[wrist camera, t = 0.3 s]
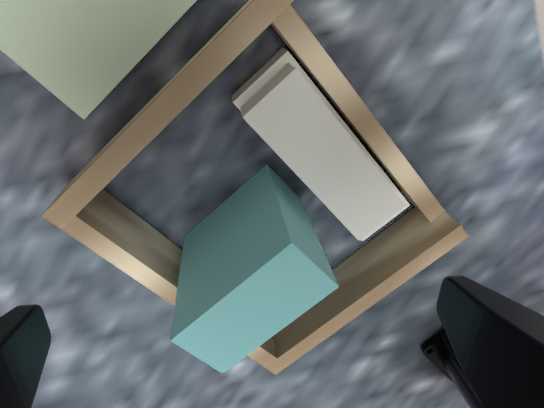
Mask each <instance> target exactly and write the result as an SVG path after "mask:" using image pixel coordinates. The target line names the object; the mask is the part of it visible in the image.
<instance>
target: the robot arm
mask: <svg viewBox="0 0 544 408" xmlns="http://www.w3.org/2000/svg"><path fill="white" fill-rule="evenodd" d="M437 312H438V315H439V318H440V320H441V322H442V324H443V327H444V329H445V330H444V331H443V332H441V333H440V334H438V335H437V336H435V337H434V338H432V339H431V340H429V341H428V342H426V343H425V344H423V345H422V347H421V350H422V352H423V353H424V355H425V356H426V357H427V358H428V359H429V360H430V361H431V362H433V363H434V364H435V365H436V366H437V367H438V368H439V369H440V370H441V371H442V372H443V373H444V374H445V375H446V376H447V377H448V378H449V379H450V380H451V381H452V382H454V383H455V385H456V386H457V388H458V389H459V391H460V392H461V394H462V396H463V397H464V399H465V400H466V402H467V403H468V405H469V407H470V408H544V316H543V315H541V314H539V313H537V312H535V311H533V310H531V309H529V308H527V307H525V306H523V305H521V304H519V303H517V302H515V301H513V300H511V299H509V298H507V297H505V296H503V295H501V294H499V293H497V292H495V291H493V290H491V289H489V288H487V287H485V286H483V285H481V284H479V283H477V282H475V281H473V280H471V279H469V278H467V277H464V276H448V277H445V278H444V279H443V281H442V285H441V289H440V293H439V296H438V300H437ZM50 343H51V333H50V330H49V327H48V324H47V321H46V318H45V315H44V312H43V309H42V308H41V306H39V305H36V304H35V305H21V306H17V307H15V308H14V309H12V310H11V311H9V312H8V313H6V314H4V315H3V316H1V317H0V408H31V407H32V404H33V401H34V397H35V394H36V391H37V387H38V384H39V380H40V377H41V374H42V370H43V367H44V364H45V360H46V357H47V354H48V350H49V347H50Z"/></svg>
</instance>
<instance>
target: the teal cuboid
mask: <svg viewBox="0 0 544 408" xmlns="http://www.w3.org/2000/svg"><path fill="white" fill-rule="evenodd" d="M338 287H339V285H338V283H337V281H336V278H335V276H334V274H333V272H332V269H331V267H330V265H329V262H328V260H327V258H326V256H325V253H324V251H323V249H322V247H321V244H320V242H319V240H318V237H317V235H316V233H315V231H314V228H313V226H312V224H311V222H310V219H309V217H308V215H307V212H306V210H305V208H304V206H303V203H302V201H301V199H300V198H299V197H298V196H297V195H296V194H295V193H294V192H293V191H292V190H291V188H290V187H289V186H288V185H287V184H286V183H285V182H284V181H283V180H282V179H281V178H280V177H279V176H278V175H277V174H276V173H275V172H274V171H273V170H272V169H271V168H270V167H269V166H268V165H267V164H266V165H265V166H264V167H263V168H261V169H260V170H259V171H258V172H257V173H256V174H255V175H253V176H252V177H251V178H250V179H249V180H248V181H247V182H245V183H244V184H243V185H242V186H241V187H240V188H239V189H238V190H236V191H235V192H234V193H233V194H232V195H231V196H230V197H228V198H227V199H226V200H225V201H224V202H223V203H222V204H220V205H219V206H218V207H217V208H216V209H215V210H214V211H213V212H211V213H210V214H209V215H208V216H207V217H206V218H205V219H203V220H202V221H201V222H200V223H199V224H198V225H197V226H195V227H194V228H193V229H192V230H191V231H190V232H189V233H188V234H186V235H185V236H184V242H183V250H182V257H181V264H180V272H179V279H178V287H177V294H176V301H175V309H174V316H173V323H172V331H171V338H170V341H171V342H173V343H174V344H176V345H178V346H179V347H181V348H182V349H184V350H186V351H187V352H189V353H190V354H192V355H194V356H195V357H197V358H198V359H200V360H202V361H203V362H205V363H206V364H208V365H210V366H211V367H213V368H214V369H216V370H218V371H219V372H221V373H222V374H223V373H224V372H226V371H227V370H228V369H230V368H231V367H232V366H234V365H235V364H236V363H238V362H239V361H240V360H242V359H243V358H244V357H246V356H247V355H248V354H250V353H251V352H252V351H254V350H255V349H256V348H258V347H259V346H261V345H262V344H263V343H265V342H266V341H267V340H269V339H270V338H271V337H273V336H274V335H275V334H277V333H278V332H279V331H281V330H282V329H283V328H285V327H286V326H287V325H289V324H290V323H291V322H293V321H294V320H295V319H297V318H298V317H299V316H301V315H302V314H303V313H305V312H306V311H307V310H309V309H310V308H311V307H313V306H314V305H315V304H317V303H318V302H319V301H321V300H322V299H323V298H325V297H326V296H327V295H329V294H330V293H332V292H333V291H334V290H336V289H337V288H338Z"/></svg>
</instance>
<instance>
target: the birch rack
mask: <svg viewBox="0 0 544 408" xmlns="http://www.w3.org/2000/svg"><path fill="white" fill-rule="evenodd" d="M293 1H294V0H248V1H247V2H246V3H245V4H244V5H243V6H242V7H241V8H240V9H239V10H238V11H237V12H236V13H235V14H234V15H233V16H232V17H231V18H230V19H229V21H228V22H227V23H226V24H225V25H224V26H223V27H222V28H221V29H220V30H219V31H218V32H217V33H216V34H215V35H214V36H213V37H212V38H211V39H210V40H209V41H208V42H207V43H206V44H205V45H204V46H203V47H202V48H201V49H200V50H199V51H198V52H197V53H196V54H195V55H194V56H193V57H192V58H191V59H190V60H189V61H188V62H187V63H186V64H185V65H184V66H183V67H182V68H181V69H180V70H179V71H178V72H177V73H176V74H175V75H174V77H173V78H172V79H171V80H170V81H169V82H168V83H167V84H166V85H165V86H164V87H163V88H162V89H161V90H160V91H159V92H158V93H157V94H156V95H155V96H154V97H153V98H152V99H151V100H150V101H149V102H148V103H147V104H146V105H145V106H144V107H143V108H142V109H141V110H140V111H139V112H138V113H137V114H136V115H135V116H134V117H133V118H132V119H131V120H130V121H129V122H128V123H127V124H126V125H125V126H124V127H123V128H122V129H121V130H120V131H119V133H118V134H117V135H116V136H115V137H114V138H113V139H112V140H111V141H110V142H109V143H108V144H107V145H106V146H105V147H104V148H103V149H102V150H101V151H100V152H99V153H98V154H97V155H96V156H95V157H94V158H93V159H92V160H91V161H90V162H89V163H88V164H87V165H86V166H85V167H84V168H83V169H82V170H81V171H80V172H79V173H78V174H77V175H76V176H75V177H74V178H73V179H72V180H71V181H70V182H69V183H68V185H67V186H66V187H65V188H64V189H63V191H62V192H61V193H60V194H59V195H58V197H57V198H56V199H55V200H54V201H53V203H52V204H51V205H50V206H49V208H48V209H47V210H46V211H45V212H44V214H43V215H42V217H44V218H45V219H47V220H48V221H50V222H51V223H53V224H54V225H56V226H57V227H59V228H60V229H62V230H63V231H64V232H66V233H67V234H69V235H70V236H72V237H73V238H75V239H76V240H78V241H79V242H81V243H82V244H84V245H85V246H87V247H88V248H89V249H91V250H92V251H94V252H95V253H97V254H98V255H100V256H101V257H103V258H104V259H106V260H107V261H109V262H110V263H112V264H113V265H115V266H116V267H117V268H119V269H120V270H122V271H123V272H125V273H126V274H128V275H129V276H131V277H132V278H134V279H135V280H137V281H138V282H140V283H141V284H142V285H144V286H145V287H147V288H148V289H150V290H151V291H153V292H154V293H156V294H157V295H159V296H160V297H162V298H163V299H165V300H166V301H167V302H169V303H170V304H172V305H173V306H175V301H176V294H177V287H178V279H179V272H180V264H181V257H182V249H180V248H179V247H178V246H177V245H175V244H174V243H173V242H171V241H170V240H169V239H167V238H166V237H165V236H164V235H162V234H161V233H160V232H158V231H157V230H156V229H154V228H153V227H152V226H151V225H149V224H148V223H147V222H145V221H144V220H143V219H141V218H140V217H139V216H138V215H136V214H135V213H134V212H132V211H131V210H130V209H128V208H127V207H126V206H125V205H123V204H122V203H121V202H119V201H118V200H117V199H115V198H114V197H113V196H112V195H110V194H109V193H108V192H106V191H105V190H104V189H103V188H104V187H105V186H106V185H107V184H108V183H109V182H110V181H111V180H112V179H113V178H114V177H115V176H116V175H117V174H118V173H119V172H120V171H121V170H122V169H123V168H124V167H125V166H126V165H128V164H129V163H130V162H131V161H132V160H133V159H134V158H135V157H136V156H137V155H138V154H139V153H140V152H141V151H142V150H143V149H144V148H145V147H146V146H147V145H148V144H149V143H150V142H151V141H152V140H153V139H154V138H155V137H156V136H157V135H158V134H159V133H160V132H161V131H162V130H163V129H164V128H165V127H166V126H167V125H168V124H169V123H170V122H171V121H172V120H173V119H174V118H175V117H176V116H177V115H178V114H179V113H180V112H181V111H182V110H183V109H184V108H185V107H186V106H188V105H189V104H190V103H191V102H192V101H193V100H194V99H195V98H196V97H197V96H198V95H199V94H200V93H201V92H202V91H203V90H204V89H205V88H206V87H207V86H208V85H209V84H210V83H211V82H212V81H213V80H214V79H215V78H216V77H217V76H218V75H219V74H220V73H221V72H222V71H223V70H224V69H225V68H226V67H227V66H228V65H229V64H230V63H231V62H232V61H233V60H234V59H235V58H236V57H237V56H238V55H239V54H240V53H241V52H242V51H243V50H244V49H245V48H246V47H248V46H249V45H250V44H251V43H252V42H253V41H254V40H255V39H256V38H257V37H258V36H259V35H260V34H261V33H262V32H263V31H264V30H265V29H266V28H267V27H268V26H269V25H271V26H272V28H273V29H274V30H275V31H276V33H277V34H278V35H279V37H280V38H281V39H282V40H283V42H284V43H285V44H286V45H287V47H288V48H289V49H290V50H291V52H292V53H293V54H294V55H295V57H296V58H297V59H298V60H299V62H300V63H301V64H302V65H303V67H304V68H305V69H306V70H307V72H308V73H309V74H310V75H311V77H312V78H313V79H314V80H315V82H316V83H317V84H318V86H319V87H320V88H321V89H322V91H323V92H324V93H325V94H326V96H327V97H328V98H329V99H330V101H331V102H332V103H333V104H334V106H335V107H336V108H337V109H338V111H339V112H340V113H341V114H342V116H343V117H344V118H345V119H346V121H347V122H348V123H349V124H350V126H351V127H352V128H353V130H354V131H355V132H356V133H357V135H358V136H359V137H360V138H361V140H362V141H363V142H364V143H365V145H366V146H367V147H368V148H369V150H370V151H371V152H372V153H373V155H374V156H375V157H376V158H377V160H378V161H379V162H380V163H381V165H382V166H383V167H384V168H385V170H386V171H387V172H388V174H389V175H390V176H391V177H392V179H393V180H394V181H395V182H396V184H397V185H398V186H399V187H400V189H401V190H402V191H403V192H404V194H405V195H406V196H407V197H408V199H409V200H410V201H411V202H412V204H413V205H414V206H415V207H414V208H413V209H411V210H410V211H409V212H407V213H406V214H405V215H403V216H402V217H401V218H400V219H398V220H397V221H396V222H394V223H393V224H392V225H390V226H389V227H388V228H386V229H385V230H384V231H382V232H381V233H380V234H379V235H377V236H376V237H375V238H373V239H372V240H371V241H369V242H368V243H367V244H365V245H364V246H363V247H361V248H360V249H359V250H358V251H356V252H355V253H354V254H352V255H351V256H350V257H348V258H347V259H346V260H344V261H343V262H342V263H341V264H339V265H338V266H337V267H335V268H334V269H333V270H332V272H333V274H334V276H335V278H336V281H337V283H338V285H339V287H338V288H337V289H336V290H334V291H333V292H332V293H330V294H329V295H327V296H326V297H325V298H323V299H322V300H321V301H319V302H318V303H317V304H315V305H314V306H313V307H311V308H310V309H309V310H307V311H306V312H305V313H303V314H302V315H301V316H299V317H298V318H297V319H295V320H294V321H293V322H291V323H290V324H289V325H287V326H286V327H285V328H283V329H282V330H281V331H279V332H278V333H277V334H275V335H274V336H273V337H271V338H270V339H269V340H267V341H266V342H265V343H263V344H262V345H261V346H259V347H258V348H256V349H255V350H254V351H252V352H251V353H250V354H248V355H247V356H248V357H250V358H251V359H253V360H254V361H256V362H257V363H259V364H260V365H262V366H263V367H265V368H266V369H268V370H269V371H270V372H272V373H273V374H275V375H276V374H278V373H279V372H280V371H282V370H283V369H285V368H286V367H287V366H289V365H290V364H292V363H293V362H294V361H296V360H297V359H299V358H300V357H301V356H303V355H304V354H306V353H307V352H308V351H310V350H311V349H313V348H314V347H315V346H317V345H318V344H320V343H321V342H322V341H324V340H325V339H327V338H328V337H329V336H331V335H332V334H334V333H335V332H336V331H338V330H339V329H340V328H342V327H343V326H345V325H346V324H347V323H349V322H350V321H352V320H353V319H354V318H356V317H357V316H359V315H360V314H361V313H363V312H364V311H366V310H367V309H368V308H370V307H371V306H373V305H374V304H375V303H377V302H378V301H380V300H381V299H382V298H384V297H385V296H387V295H388V294H389V293H391V292H392V291H394V290H395V289H396V288H398V287H399V286H401V285H402V284H403V283H405V282H406V281H408V280H409V279H410V278H412V277H413V276H414V275H416V274H417V273H419V272H420V271H421V270H423V269H424V268H426V267H427V266H428V265H430V264H431V263H433V262H434V261H435V260H437V259H438V258H440V257H441V256H442V255H444V254H445V253H447V252H448V251H449V250H451V249H452V248H454V247H455V246H456V245H458V244H459V243H461V242H462V241H463V240H465V239H466V238H468V237H469V236H468V234H467V233H466V232H465V230H464V229H463V228H462V226H461V225H460V224H459V223H458V222H456V221H455V220H454V219H453V218H452V217H451V216H450V215H449V214H448V213H446V212H445V210H444V209H443V208H442V206H441V205H440V204H439V202H438V201H437V200H436V198H435V197H434V196H433V194H432V193H431V192H430V190H429V189H428V188H427V186H426V185H425V184H424V182H423V181H422V179H421V178H420V177H419V175H418V174H417V173H416V171H415V170H414V169H413V167H412V166H411V165H410V163H409V162H408V161H407V159H406V158H405V157H404V155H403V154H402V153H401V151H400V150H399V149H398V147H397V146H396V145H395V143H394V142H393V141H392V139H391V138H390V137H389V135H388V134H387V133H386V131H385V130H384V129H383V127H382V126H381V125H380V123H379V122H378V121H377V119H376V118H375V117H374V115H373V114H372V113H371V111H370V110H369V109H368V107H367V106H366V105H365V103H364V102H363V101H362V99H361V98H360V97H359V95H358V94H357V93H356V91H355V90H354V89H353V87H352V86H351V85H350V83H349V82H348V81H347V79H346V78H345V77H344V75H343V74H342V73H341V71H340V70H339V69H338V67H337V66H336V65H335V63H334V62H333V61H332V59H331V58H330V57H329V55H328V54H327V53H326V51H325V50H324V49H323V47H322V46H321V45H320V43H319V42H318V41H317V39H316V38H315V37H314V35H313V34H312V33H311V31H310V30H309V29H308V27H307V26H306V25H305V23H304V22H303V21H302V19H301V18H300V17H299V15H298V14H297V13H296V11H295V10H294V9H293V7H292V6H291V3H292V2H293Z"/></svg>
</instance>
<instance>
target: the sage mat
mask: <svg viewBox="0 0 544 408" xmlns="http://www.w3.org/2000/svg"><path fill="white" fill-rule="evenodd" d="M196 1H197V0H0V50H1V51H2V52H3V53H5V54H6V55H7V56H8V57H9V58H11V59H12V60H13V61H14V62H15V63H17V64H18V65H19V66H20V67H21V68H23V69H24V70H25V71H26V72H27V73H29V74H30V75H31V76H32V77H33V78H34V79H36V80H37V81H38V82H39V83H40V84H42V85H43V86H44V87H45V88H46V89H48V90H49V91H50V92H51V93H52V94H54V95H55V96H56V97H57V98H58V99H60V100H61V101H62V102H63V103H64V104H65V105H67V106H68V107H69V108H70V109H71V110H73V111H74V112H75V113H76V114H77V115H79V116H80V117H81V118H82V119H83V120H84V119H86V118H87V117H88V116H89V115H90V113H91V112H92V111H93V110H94V109H95V108H96V107H97V106H98V105H99V104H100V103H101V102H102V101H103V100H104V99H105V98H106V97H107V95H108V94H109V93H110V92H111V91H112V90H113V89H114V88H115V87H116V86H117V85H118V84H119V83H120V82H121V81H122V80H123V78H124V77H125V76H126V75H127V74H128V73H129V72H130V71H131V70H132V69H133V68H134V67H135V66H136V65H137V64H138V63H139V62H140V60H141V59H142V58H143V57H144V56H145V55H146V54H147V53H148V52H149V51H150V50H151V49H152V48H153V47H154V46H155V45H156V44H157V42H158V41H159V40H160V39H161V38H162V37H163V36H164V35H165V34H166V33H167V32H168V31H169V30H170V29H171V28H172V27H173V26H174V24H175V23H176V22H177V21H178V20H179V19H180V18H181V17H182V16H183V15H184V14H185V13H186V12H187V11H188V10H189V9H190V8H191V6H192V5H193V4H194V3H195V2H196Z"/></svg>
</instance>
